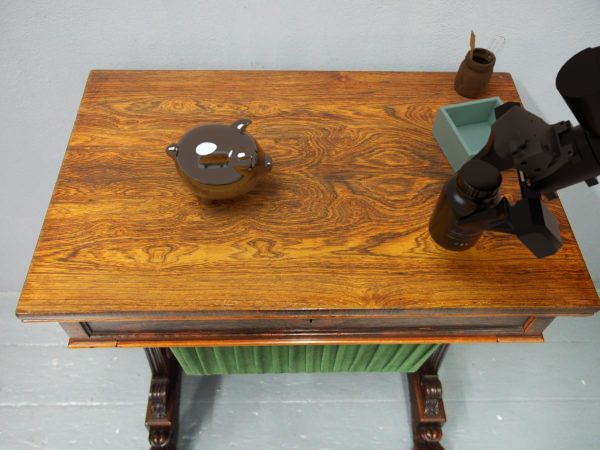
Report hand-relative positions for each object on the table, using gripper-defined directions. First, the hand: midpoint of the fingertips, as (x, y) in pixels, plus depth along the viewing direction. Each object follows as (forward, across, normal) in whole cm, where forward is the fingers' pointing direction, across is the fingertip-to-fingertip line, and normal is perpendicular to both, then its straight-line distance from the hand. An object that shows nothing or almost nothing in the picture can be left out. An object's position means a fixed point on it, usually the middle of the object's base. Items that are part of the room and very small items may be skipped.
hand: (456, 201), depth 61 cm
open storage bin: (+4, -22, +15) cm, 27 cm away
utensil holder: (+4, -37, +16) cm, 41 cm away
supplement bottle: (+4, 0, +6) cm, 7 cm away
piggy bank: (+32, -9, -13) cm, 35 cm away
